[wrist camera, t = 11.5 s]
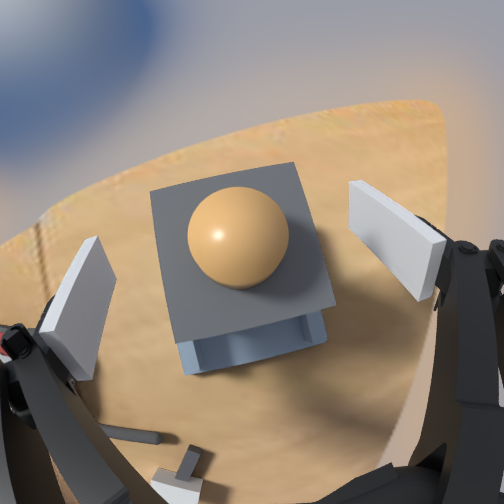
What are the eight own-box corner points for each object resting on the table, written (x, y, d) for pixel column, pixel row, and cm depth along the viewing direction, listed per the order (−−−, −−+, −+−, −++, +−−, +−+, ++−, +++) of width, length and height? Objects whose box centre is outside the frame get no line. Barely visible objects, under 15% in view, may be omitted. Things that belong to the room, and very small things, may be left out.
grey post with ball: (214, 329, 19) (164, 347, 6) (200, 265, 20) (138, 173, 7) (279, 314, 19) (352, 302, 7) (263, 251, 20) (300, 140, 8)
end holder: (187, 372, 19) (178, 381, 16) (160, 240, 21) (148, 226, 18) (322, 340, 20) (336, 343, 17) (288, 212, 22) (296, 194, 19)
